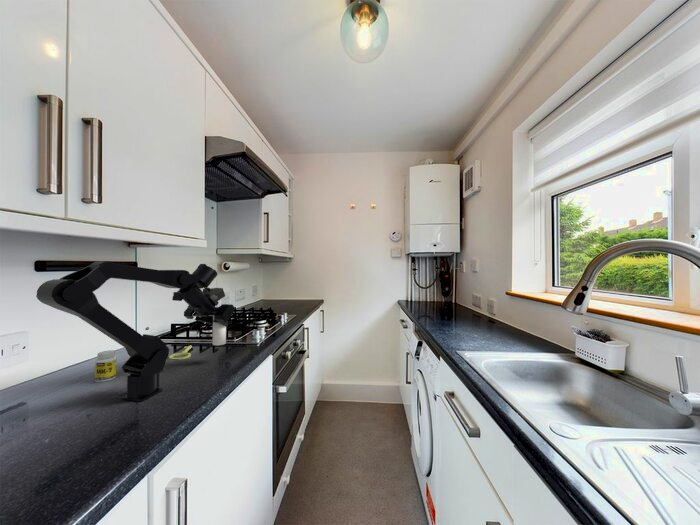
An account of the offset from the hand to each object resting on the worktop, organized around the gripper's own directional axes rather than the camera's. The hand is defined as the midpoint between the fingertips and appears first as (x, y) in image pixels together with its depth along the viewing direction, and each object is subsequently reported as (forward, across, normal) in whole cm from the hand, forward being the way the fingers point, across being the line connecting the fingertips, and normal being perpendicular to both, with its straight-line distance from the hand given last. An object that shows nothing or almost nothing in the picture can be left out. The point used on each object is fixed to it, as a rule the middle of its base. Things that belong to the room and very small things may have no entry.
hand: (222, 324), depth 96 cm
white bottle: (+4, 0, +6) cm, 7 cm away
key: (+10, +20, +10) cm, 25 cm away
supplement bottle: (-7, +22, +27) cm, 35 cm away
